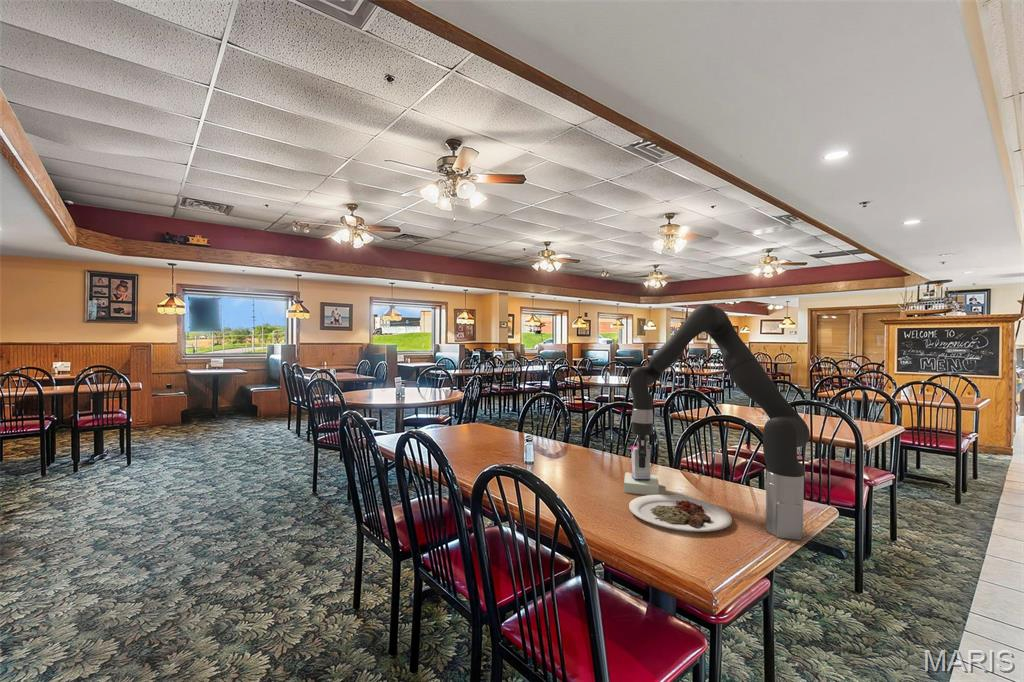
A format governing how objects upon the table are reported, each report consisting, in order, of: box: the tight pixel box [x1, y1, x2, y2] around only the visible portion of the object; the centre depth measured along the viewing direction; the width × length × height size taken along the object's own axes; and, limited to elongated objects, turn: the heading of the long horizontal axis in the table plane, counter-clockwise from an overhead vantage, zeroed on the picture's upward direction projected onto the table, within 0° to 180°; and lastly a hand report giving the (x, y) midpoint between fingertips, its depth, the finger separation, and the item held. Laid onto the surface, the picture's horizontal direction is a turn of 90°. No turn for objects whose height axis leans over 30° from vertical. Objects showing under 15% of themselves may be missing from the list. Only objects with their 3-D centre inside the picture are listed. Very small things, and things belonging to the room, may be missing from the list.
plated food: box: [628, 494, 733, 533], centre depth 142 cm, size 30×30×3 cm
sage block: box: [623, 471, 660, 496], centre depth 169 cm, size 14×12×4 cm
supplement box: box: [630, 445, 651, 480], centre depth 169 cm, size 6×6×12 cm
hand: (641, 464), depth 169 cm, fingers open, 8 cm apart
